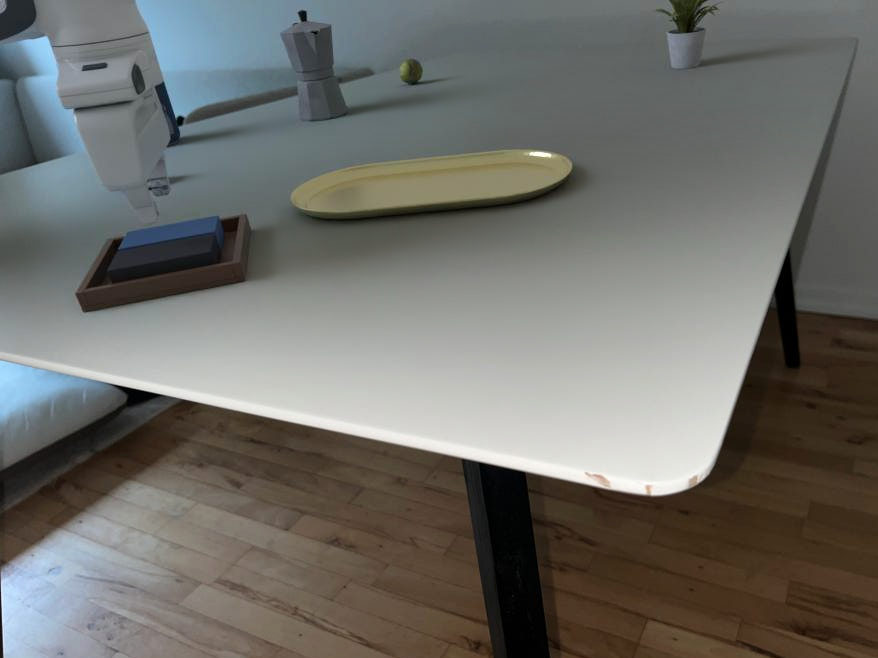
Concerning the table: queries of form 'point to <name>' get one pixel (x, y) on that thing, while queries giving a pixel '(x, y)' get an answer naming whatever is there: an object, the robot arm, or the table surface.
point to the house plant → (686, 32)
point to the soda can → (168, 113)
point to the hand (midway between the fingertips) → (157, 207)
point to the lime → (410, 71)
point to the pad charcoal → (164, 258)
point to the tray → (231, 269)
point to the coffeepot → (314, 69)
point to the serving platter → (432, 184)
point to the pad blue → (174, 233)
